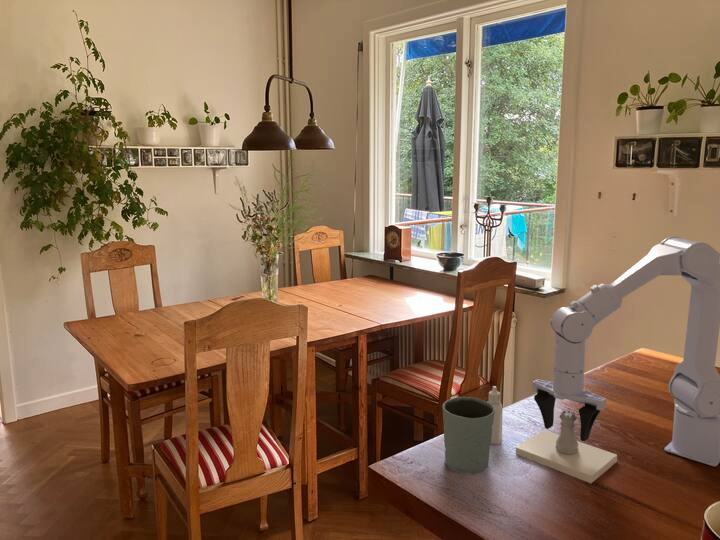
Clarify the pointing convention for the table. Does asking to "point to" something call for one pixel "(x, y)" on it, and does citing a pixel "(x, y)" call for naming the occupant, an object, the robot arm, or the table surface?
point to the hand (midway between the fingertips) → (566, 433)
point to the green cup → (467, 433)
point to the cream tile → (567, 457)
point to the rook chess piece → (567, 434)
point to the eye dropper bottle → (496, 416)
